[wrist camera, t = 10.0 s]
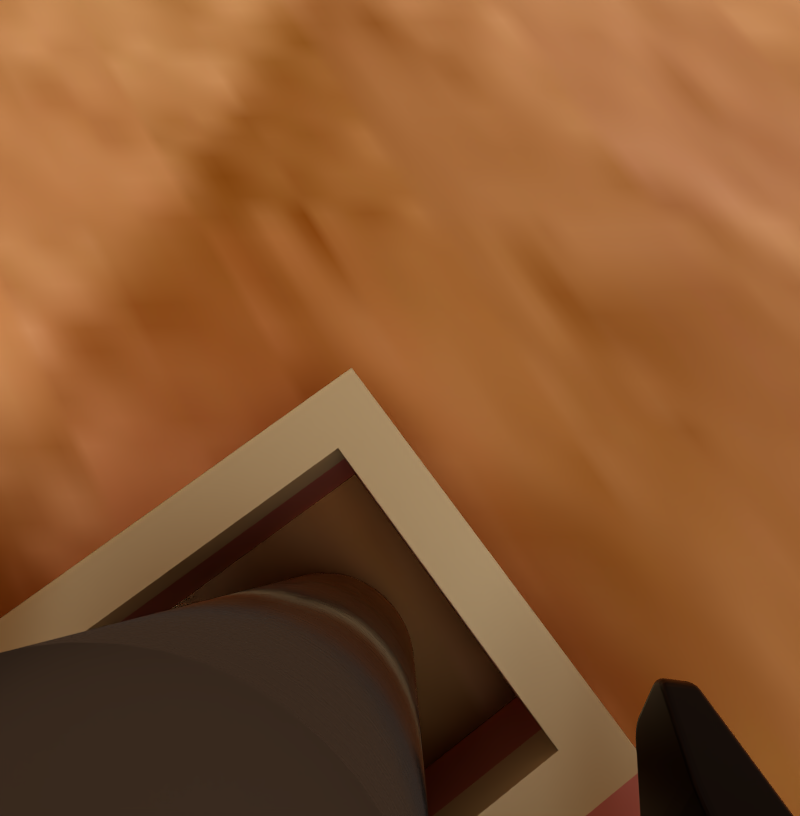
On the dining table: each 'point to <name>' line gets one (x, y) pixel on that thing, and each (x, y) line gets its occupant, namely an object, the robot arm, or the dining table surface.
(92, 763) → the stool leg
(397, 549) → the dining table surface
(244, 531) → the pink control box
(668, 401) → the dining table surface
